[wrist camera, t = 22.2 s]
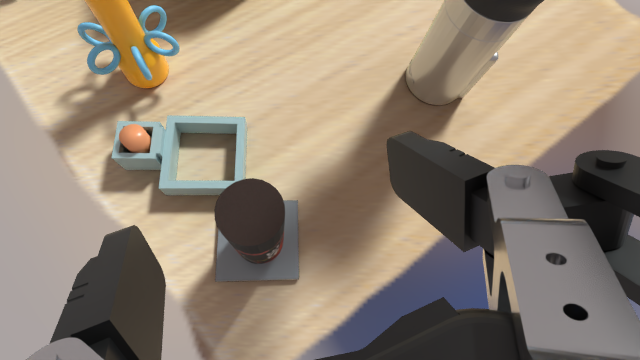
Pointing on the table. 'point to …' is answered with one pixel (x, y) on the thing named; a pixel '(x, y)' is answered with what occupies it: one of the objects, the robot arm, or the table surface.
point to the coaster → (279, 268)
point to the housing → (167, 151)
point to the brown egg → (135, 139)
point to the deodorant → (252, 219)
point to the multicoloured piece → (129, 42)
